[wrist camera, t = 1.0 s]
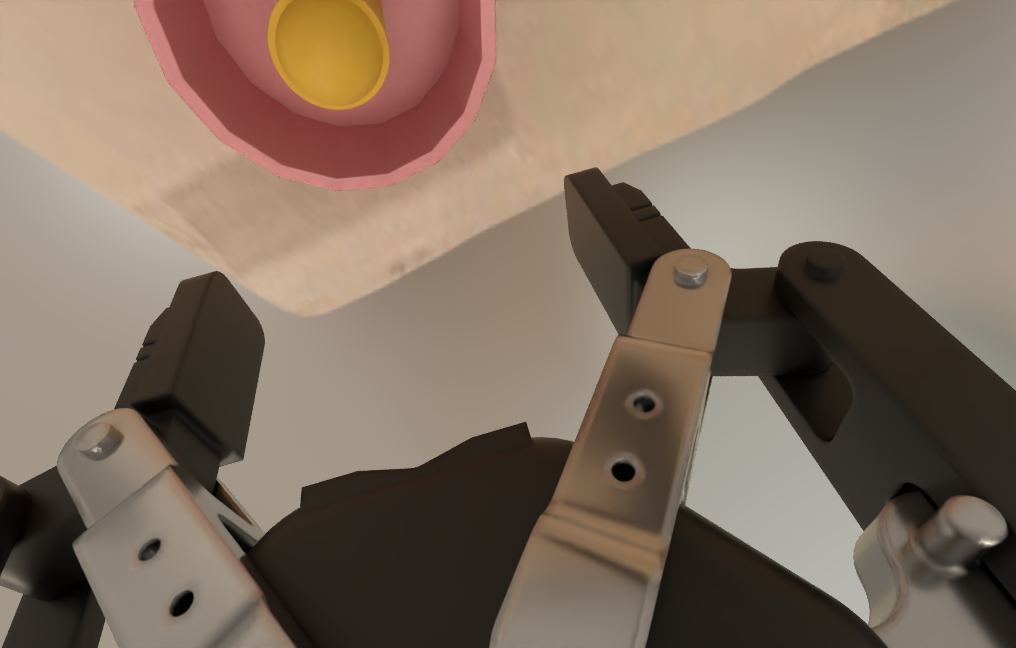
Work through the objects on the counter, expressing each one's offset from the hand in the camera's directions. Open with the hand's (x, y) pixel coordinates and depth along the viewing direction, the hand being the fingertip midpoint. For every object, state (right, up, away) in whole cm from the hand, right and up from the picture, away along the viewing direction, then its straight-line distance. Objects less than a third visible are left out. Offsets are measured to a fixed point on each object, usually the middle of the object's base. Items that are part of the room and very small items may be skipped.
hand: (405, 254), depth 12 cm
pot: (-7, +16, +15) cm, 23 cm away
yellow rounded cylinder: (-7, +15, +15) cm, 23 cm away
